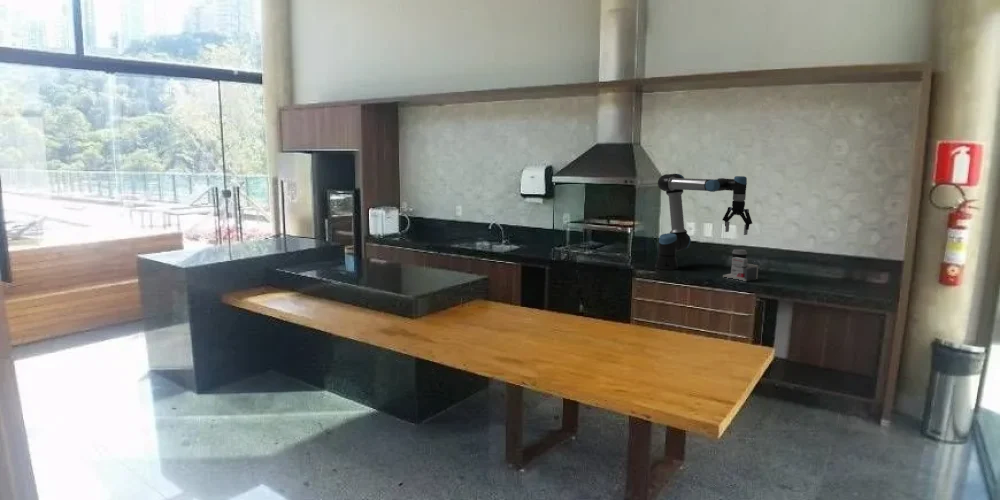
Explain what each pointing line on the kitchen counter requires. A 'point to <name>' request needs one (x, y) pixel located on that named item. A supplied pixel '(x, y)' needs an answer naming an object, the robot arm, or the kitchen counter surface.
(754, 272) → the shelf
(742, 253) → the coffee cup
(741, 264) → the ink box
